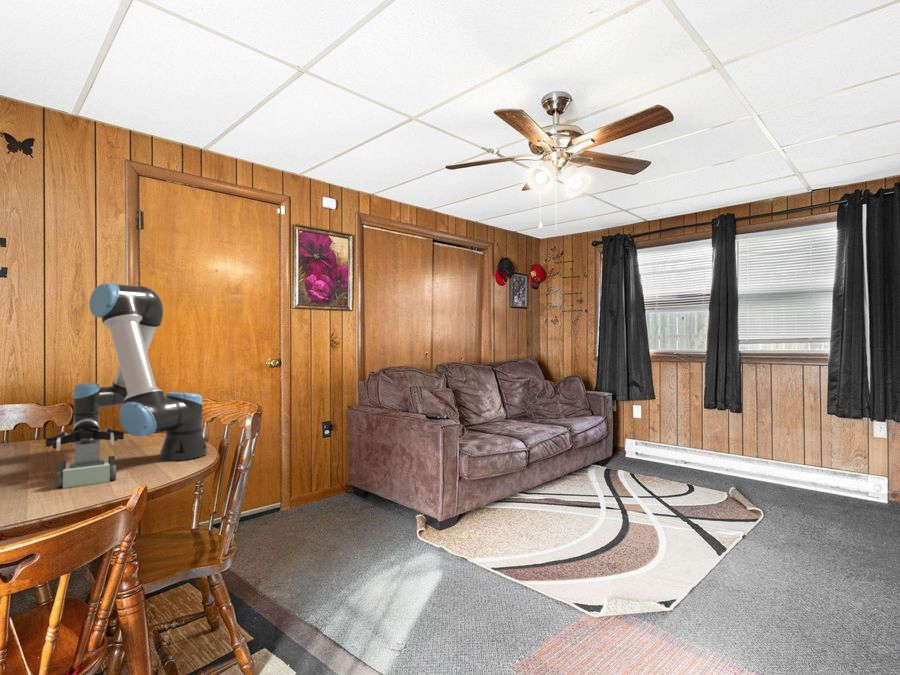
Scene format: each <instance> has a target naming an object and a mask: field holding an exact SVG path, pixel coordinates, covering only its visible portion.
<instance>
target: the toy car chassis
mask: <svg viewBox="0 0 900 675" xmlns="http://www.w3.org/2000/svg"><path fill="white" fill-rule="evenodd" d="M115 457H116V455H109V456H108V458H103V459H100V465H96V466H87V467H79V468H75V461H74V462H67V461H66V460H64V461H59V462H58V471H56V474H55V488H56V489H57V488H62V489H68V488H75V487H82V486H90V485H91V486H92V485H97V484H105V483H110V481H113V480H114V481H115V480H117V464H116V458H115Z"/></svg>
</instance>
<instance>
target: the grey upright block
mask: <svg viewBox="0 0 900 675" xmlns="http://www.w3.org/2000/svg"><path fill="white" fill-rule="evenodd" d="M100 445H101V442H100V440H99V439H95V440H94V438H84V439H81V441H75V443H74V462H75V468H79V467H87V466H96V465H100V457H101V456H100V455H101V454H100V452H101V451H100V448H101V447H100Z"/></svg>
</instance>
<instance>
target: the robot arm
mask: <svg viewBox="0 0 900 675" xmlns="http://www.w3.org/2000/svg"><path fill="white" fill-rule="evenodd" d="M88 303H89V310H90V313H91V314H92V315H93V316H94V317H97V318H101V322H102V325H103V326H104V327H106V328H108V329H109V330H110V334H111V339H112V342H113V345H114V349H115V352H116V353H115V354H116V357H117V359H118V364H119V365H118V367H117V371H116V374H115V376H114V380H113V383H112V385H111V386H102V387H101V386H100V384H99V383H98V382H88V383H87V382H85V383H78V384H76V385H74V389H73V394H72V397H73V421H72V422H73V423H72V424H73V427H72V431H71V432H70V433H68V434H67V432H64V431H62V432H60V433H57V434H55V435H52V436H50V437H46V438H45V447H46V448H48V447H49V448H50V447H51V446H52V449H55V450H56V452H57V451H58V452H59V451H61V446H62V445H65V444H69V443H74V444H75V441H81V439H84V438H94V440H95V439H99V441H100V440H105V441H110V445H111V446H114V445H115V442H116V441H118V440H124V438H125V435H124V431H125V433H127V434H129V435H131V436H133V437H145V436H147V437H148V436H150V435H154V434H158V433H162V432H165V438H164V440H163V442H162V446H161V449H160V451H159V453H160V454H159V459H161V460H162V459H163V461H168V460H180V461H187V460H186V459H189V460H194V459H193V458H195V459H198V458H197V457H199V458H202V457H204V456H203V455H205V454H206V455H207V454H208V446H207V444H206V440H205V438H204V435H203V405H204V404H203V396H202V395H201V394H199V393H194V392H193V393H192V392H173V391H172V392H167V393H166V395H165V393H164V391H163V390H162V389H160V388H159V387H157V384H156V381H155V377H154V374H153V369H152V367H151V364H150V360H149V356H148V352H149V349H150V346H151V345H152V344H151V343H152V341H153V338H154V335H155V332H156V329H158V328H160V327H161V325H162V321H163V317H164V306H163V303H162V300H161V298H160V296H159V295H158V293H156V292H155V291H154V290H153V289H151V288H149V287H146V286H142V285H140V286H139V285H138V286H136V285H131V284H130V285H128V284H117V283H115V282H114V283H100V284H99V285H97V286H96V287H95V288H94V290H92V293H91V295H90V297H89V302H88ZM115 406H116V407H117V406H121V407H120V409H119V414H118V418H119V422H120V425H121V428H122V429H123V430H124V431H122V430H116V429H112V428H109V427H108V428H106V429H105V430H102V429H100V428H101V427H100V411H101V410H100V409H101V408H102V409H103V408H109V407H115ZM206 455H205V456H206ZM201 456H202V457H201Z"/></svg>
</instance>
